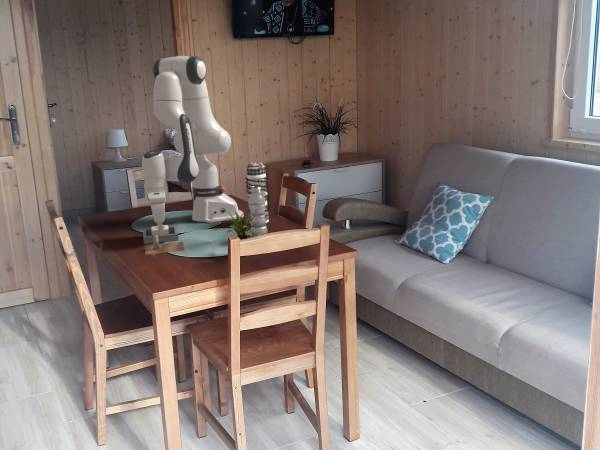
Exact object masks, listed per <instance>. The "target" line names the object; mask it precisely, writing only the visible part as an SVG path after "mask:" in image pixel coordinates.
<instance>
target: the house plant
mask: <svg viewBox="0 0 600 450" xmlns="http://www.w3.org/2000/svg"><path fill="white" fill-rule="evenodd" d="M227 213H228V212H227ZM235 213H236V218H237V219H234V218H233V216H232V215H231V214H230V213H228V214H229V215H230V216H231V217H232V220H231V219H230V218H229V219H230V220H227V219H226V220H225V221H228V222H229V223H230V224H231V225H230V226H229V228H231V229H228V228H226V227H225V228H222V229H225V230H227V231H226V234H229V233H231V232H232V233H233V231H234V232H235V236H237V237H239V238H240V239H241V240H242V239H247V238H251V237H252V235H251V233H250V232H251V231H252V230H254V229H256V228H254V229H252V230H251V231H250V228H252V227H254V226H251V223H250V222H251V221H252V220H253V219H254V217H255V216H257V215H258V214H257V215H255V216H254V217H253V218H252V219H251V221H250V220H249V217H250V214H249V213H248V214H249V216H248V217H247V219H245V220H244V222H243V217H242V216H241V217H240V216H239V215H238V214H237V212H236V211H235ZM242 213H243V214H244V211H242ZM243 214H242V215H243ZM227 218H228V217H227ZM249 221H250V222H249ZM249 225H250V226H249ZM252 238H253V237H252Z"/></svg>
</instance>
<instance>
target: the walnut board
mask: <svg viewBox="0 0 600 450" xmlns="http://www.w3.org/2000/svg"><path fill="white" fill-rule="evenodd" d="M152 238H153V243H152V244H144V247H145V249H144V250H145V251H144V252H145V253H144V255H146V256H148V255H154V254H156V255H157V254H164V253H165V254H166V253H173V252H182V251H185V245H184V241H178V242H177V241H174V242H164V243H160V242H158V235H153V236H152Z"/></svg>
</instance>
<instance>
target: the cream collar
mask: <svg viewBox="0 0 600 450" xmlns="http://www.w3.org/2000/svg"><path fill="white" fill-rule="evenodd" d="M168 227H169V225H168V224H165V225H163V231H162V232H158V226H157V225H156V226H151V228H152V236H153V235H167V234H169V229H168Z"/></svg>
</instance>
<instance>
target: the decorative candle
mask: <svg viewBox="0 0 600 450" xmlns="http://www.w3.org/2000/svg"><path fill="white" fill-rule="evenodd" d="M265 167H266V165H264V164H263V163H262V162H260V161H258V162H257V161H255V162H249V163H248V164H247V165H246V167H245V168H246V176H245V177H244V179H245V180H246V181H245V184H246V186H245V188H246V193H247V194H246V195H247V196H248V198H249V197H250V196H251V194H252V192H251V187H254V186H260V187H261V194H262V195H263V197H264V198H265V222H266V224H267V223H269V221H270V220H269V219H270V218H269V208H268V207H269V205H268V200H267V195H268V192H267V191H268V188H267V187H268V184H266V183H267V182H268V180H267V179H268V176H267V175H266V168H265ZM247 208H248V210H247V211H248V212H249V213H248V216H249V214H250V208H249V205H248V206H247ZM250 221H251V214H250V217H249V220H248V223H249V222H250ZM250 224H251V222H250Z"/></svg>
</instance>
